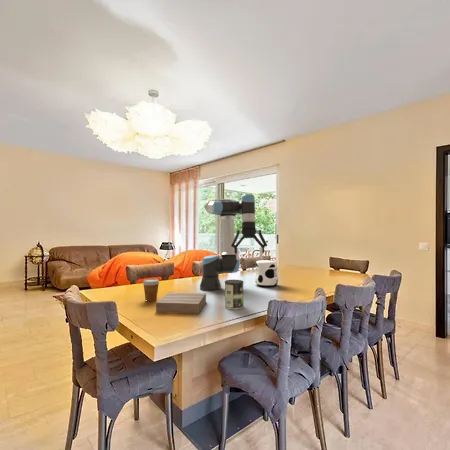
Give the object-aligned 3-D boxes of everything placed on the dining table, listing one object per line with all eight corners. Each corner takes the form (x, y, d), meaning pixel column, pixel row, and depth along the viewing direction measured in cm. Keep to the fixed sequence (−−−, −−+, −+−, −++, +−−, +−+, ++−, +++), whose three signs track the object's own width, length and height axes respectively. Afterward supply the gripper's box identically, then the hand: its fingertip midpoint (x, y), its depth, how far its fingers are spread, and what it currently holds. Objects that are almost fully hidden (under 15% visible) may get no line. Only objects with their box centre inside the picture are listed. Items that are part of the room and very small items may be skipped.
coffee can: (244, 304, 157) (244, 279, 157) (242, 310, 146) (242, 283, 147) (226, 303, 159) (226, 279, 159) (222, 309, 148) (222, 282, 149)
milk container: (252, 283, 217) (252, 260, 217) (274, 283, 219) (274, 260, 219) (257, 288, 200) (257, 263, 200) (281, 287, 201) (281, 262, 202)
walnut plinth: (169, 301, 165) (169, 292, 165) (205, 302, 162) (205, 293, 162) (156, 312, 143) (156, 302, 143) (198, 313, 140) (198, 303, 140)
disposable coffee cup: (162, 299, 169) (162, 279, 169) (153, 303, 160) (153, 282, 160) (148, 297, 172) (148, 278, 172) (139, 301, 163) (139, 281, 163)
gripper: (227, 221, 153) (228, 260, 151) (271, 220, 156) (273, 259, 154) (225, 222, 160) (226, 259, 158) (268, 222, 163) (269, 258, 161)
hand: (249, 259), depth 156 cm, fingers open, 13 cm apart
